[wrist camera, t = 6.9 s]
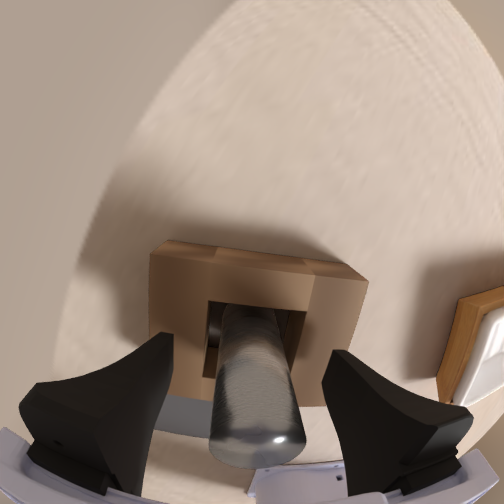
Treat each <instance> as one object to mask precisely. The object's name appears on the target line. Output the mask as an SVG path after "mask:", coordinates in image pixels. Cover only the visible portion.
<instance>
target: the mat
mask: <svg viewBox="0 0 504 504" xmlns="http://www.w3.org/2000/svg"><path fill="white" fill-rule="evenodd" d="M212 405H213V401H206V400H199V399H193V398H186V397H180V396H175V395H169V394H167V395H166V398H165V400H164V403H163V405H162V408H161V410H160V413H159V416H158V418H157V421H156V423H155V427H154V429H155V430H160V431H165V432H170V433H175V434H181V435H187V436H193V437H200V438H207V439H209V434H210V424H211V414H212Z"/></svg>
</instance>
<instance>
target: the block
mask: <svg viewBox="0 0 504 504" xmlns="http://www.w3.org/2000/svg"><path fill="white" fill-rule="evenodd" d="M368 284H369V281H368V280H366V279H365V278H364V277H363V276H361V275H360V274H359V273H358V272H356V271H355V270H354V269H353V268H351V267H350V266H349V265H347V264H343V263H335V262H328V261H320V260H313V259H305V258H298V257H290V256H282V255H275V254H267V253H260V252H252V251H245V250H237V249H230V248H222V247H215V246H207V245H199V244H192V243H184V242H177V241H169V240H167V241H166V242H165V243H163V244H162V245H161V246H159V247H158V248H157V249H156V250H154V251H153V252H152V253H150V268H149V339H151V338H152V337H154V336H155V335H156V334H158V333H159V332H166V333H172V334H174V370H173V374H172V379H171V383H170V387H169V390H168V392H167V394H169V395H175V396H180V397H186V398H193V399H199V400H206V401H213V396H214V387H215V378H216V369H217V360H218V352H219V348H213V347H208V337H209V326H210V315H211V305H212V301H217V302H225V303H233V304H241V305H249V306H258V307H267V308H277V309H287V310H290V315H289V319H288V324H287V328H286V332H285V337H284V341H283V348H284V352H285V356H286V360H287V364H288V368H289V372H290V376H291V379H292V383H293V387H294V391H295V395H296V399H297V403H298V407H315V406H326V402H325V399H324V395H323V390H322V384H321V382H322V379H323V376H324V373H325V371H326V368H327V365H328V362H329V359H330V356H331V353H332V350H333V349H342V350H346V351H348V348H349V346H350V343H351V340H352V337H353V334H354V331H355V328H356V325H357V321H358V318H359V315H360V312H361V308H362V305H363V302H364V298H365V295H366V291H367V287H368Z"/></svg>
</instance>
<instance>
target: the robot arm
mask: <svg viewBox="0 0 504 504" xmlns="http://www.w3.org/2000/svg"><path fill="white" fill-rule="evenodd" d="M173 370H174V334H172V333H166V332H159V333H158V334H156V335H155V336H154V337H152V338H151V339H150V340H148V341H147V342H146V343H144V344H143V345H142V346H140V347H139V348H138V349H136V350H135V351H133V352H132V353H130V354H129V355H127V356H125V357H124V358H122V359H120V360H119V361H117V362H115V363H113V364H111V365H109V366H107V367H105V368H102V369H100V370H97V371H94V372H91V373H89V374H86V375H83V376H79V377H75V378H71V379H66V380H60V381H52V382H42V383H36V384H35V385H34V387H33V388H32V389H31V390H30V391H29V393H28V394H27V395H26V396H25V398H24V399H23V400H22V401H21V402H20V404H19V411H20V415H21V417H22V419H23V421H24V423H25V425H26V427H27V428H28V430H29V432H30V433H31V435H32V437H33V438H34V442H33V444H32V445H30V444H29V443H28V442H27V441H26V440H24V439H23V438H22V437H20V436H18V435H17V434H15V433H14V432H12V431H11V430H9V429H8V428H6V427H3V428H2V429H1V431H0V490H1V491H2V492H3V493H4V494H5V495H6V496H7V497H9V498H10V499H11V500H12V501H14V502H15V503H17V504H168V503H163V502H159V501H154V500H150V499H146V498H142V497H141V493H142V485H143V478H144V472H145V466H146V461H147V456H148V451H149V446H150V442H151V438H152V433H153V430H154V427H155V423H156V421H157V418H158V416H159V413H160V410H161V408H162V405H163V403H164V400H165V398H166V395H167V392H168V390H169V387H170V383H171V379H172V374H173ZM321 384H322V390H323V395H324V399H325V402H326V405H327V408H328V411H329V413H330V416H331V419H332V421H333V424H334V427H335V429H336V432H337V435H338V438H339V441H340V446H341V450H342V455H343V460H342V461H334V462H326V463H316V464H302V465H278V466H275V467H270V468H264V469H256V471H255V474H254V477H253V479H252V482H251V485H250V487H249V490H248V492H247V496H248V497H256V504H473V503H474V502H475V501H476V500H478V499H479V498H480V497H481V496H482V495H484V494H485V493H486V492H487V491H488V490H489V489H490V488H491V487H492V486H494V485H495V484H496V483H497V482H498V481H499V478H498V476H497V475H496V473H495V472H494V470H493V469H492V467H491V466H490V465H489V463H488V462H487V460H486V459H485V458H484V456H483V455H482V453H481V452H480V451H479V450H478V448H477V449H474V450H473V451H471V452H469V453H467V454H465V455H463V456H462V457H460V458H459V459H457V458H456V456H455V455H457V453H458V450H457V449H456V446H457V444H458V443H459V442H460V441H461V440H462V438H463V437H464V436H465V435H466V433H467V432H468V430H469V429H470V427H471V425H472V423H473V419H474V417H473V415H472V414H471V413H470V412H469V411H468V409H467V408H466V407H464V406H458V405H451V404H446V403H442V402H438V401H434V400H431V399H427V398H425V397H422V396H419V395H417V394H414V393H412V392H410V391H407V390H406V389H404V388H402V387H400V386H398V385H396V384H394V383H392V382H391V381H389V380H388V379H386V378H384V377H383V376H381V375H380V374H378V373H377V372H375V371H374V370H373V369H371V368H370V367H368V366H367V365H366V364H364V363H363V362H362V361H360V360H359V359H358V358H356V357H355V356H354V355H352V354H351V353H349V352H348V351H346V350H342V349H333V350H332V353H331V356H330V359H329V362H328V365H327V368H326V371H325V373H324V376H323V379H322V382H321Z"/></svg>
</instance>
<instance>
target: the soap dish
mask: <svg viewBox="0 0 504 504" xmlns="http://www.w3.org/2000/svg"><path fill="white" fill-rule="evenodd" d="M436 376H437V377H436V382H437V389H438V397H439V402H442V403H446V404H451V405H458V406H464V407H468V406H470V405H472V404H474V403H476V402H478V401H479V400H481V399H483V398H485V397H486V396H488V395H490V394H491V393H493V392H495V391H496V390H498V389H499V388H501V387H502V386H504V286H501V287H498V288H495V289H492V290H489V291H486V292H482V293H479V294H475V295H472V296H469V297H465V298H462V299H459V301H458V305H457V309H456V313H455V318H454V322H453V325H452V329H451V333H450V337H449V340H448V344H447V347H446V350H445V353H444V357H443V360H442V363H441V366H440V369H439V371H438V372H437V375H436Z"/></svg>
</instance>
